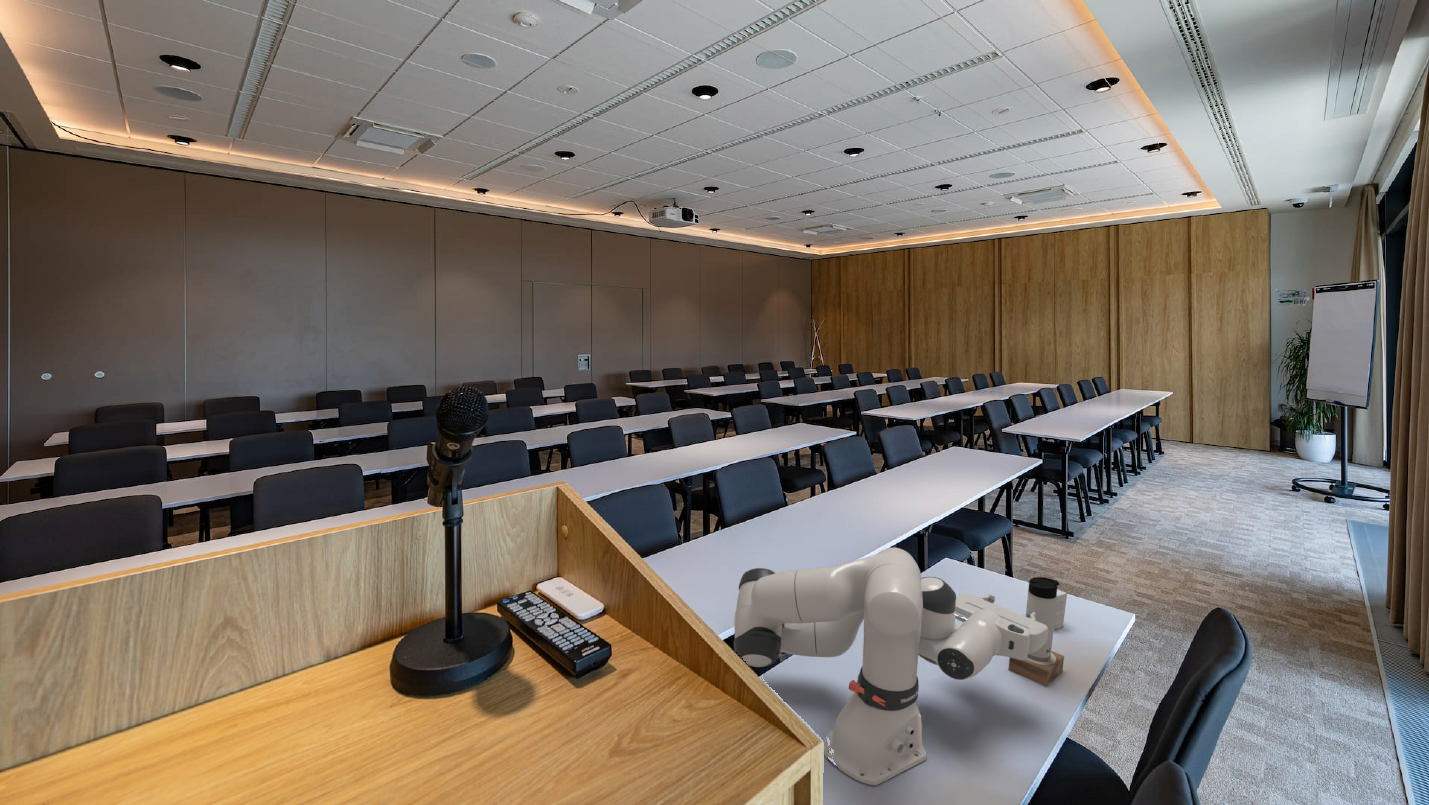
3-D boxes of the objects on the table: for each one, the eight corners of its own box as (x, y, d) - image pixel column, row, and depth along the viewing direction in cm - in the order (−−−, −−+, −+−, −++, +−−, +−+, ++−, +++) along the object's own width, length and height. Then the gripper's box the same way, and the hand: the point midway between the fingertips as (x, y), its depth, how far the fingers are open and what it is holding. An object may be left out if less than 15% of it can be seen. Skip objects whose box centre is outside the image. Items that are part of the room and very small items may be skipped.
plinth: (1046, 686, 147) (1047, 670, 146) (1008, 669, 153) (1009, 654, 153) (1062, 670, 153) (1064, 655, 152) (1025, 654, 160) (1027, 639, 159)
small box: (1025, 618, 178) (1028, 584, 176) (1038, 614, 181) (1042, 581, 179) (1050, 631, 171) (1054, 596, 169) (1063, 627, 173) (1067, 592, 172)
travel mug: (1055, 663, 149) (1063, 587, 145) (1026, 660, 150) (1033, 585, 146) (1047, 649, 155) (1054, 576, 151) (1019, 646, 156) (1026, 573, 152)
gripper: (941, 623, 145) (968, 600, 154) (1032, 664, 130) (1055, 635, 139) (943, 600, 143) (970, 577, 152) (1035, 639, 129) (1058, 611, 138)
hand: (1011, 605), depth 146 cm, fingers open, 8 cm apart
